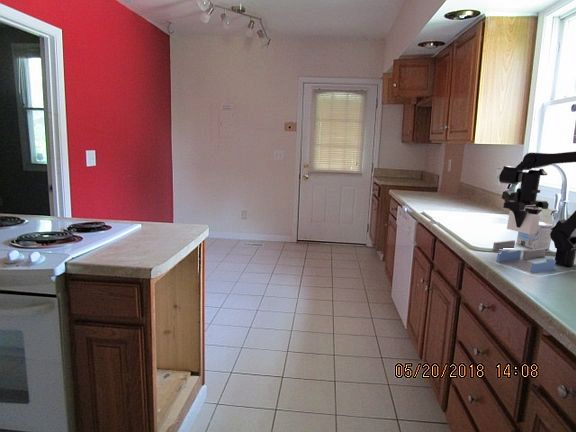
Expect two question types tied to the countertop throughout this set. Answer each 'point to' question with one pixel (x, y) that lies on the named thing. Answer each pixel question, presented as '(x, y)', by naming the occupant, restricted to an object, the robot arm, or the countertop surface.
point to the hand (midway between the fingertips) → (522, 227)
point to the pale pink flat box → (524, 223)
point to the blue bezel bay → (524, 262)
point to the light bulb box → (537, 237)
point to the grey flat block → (524, 254)
